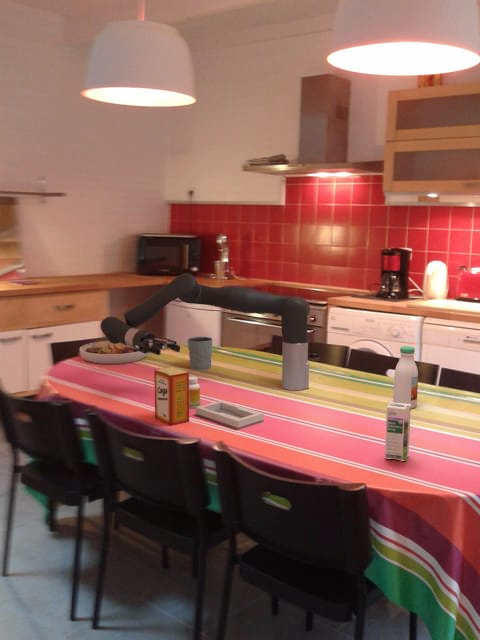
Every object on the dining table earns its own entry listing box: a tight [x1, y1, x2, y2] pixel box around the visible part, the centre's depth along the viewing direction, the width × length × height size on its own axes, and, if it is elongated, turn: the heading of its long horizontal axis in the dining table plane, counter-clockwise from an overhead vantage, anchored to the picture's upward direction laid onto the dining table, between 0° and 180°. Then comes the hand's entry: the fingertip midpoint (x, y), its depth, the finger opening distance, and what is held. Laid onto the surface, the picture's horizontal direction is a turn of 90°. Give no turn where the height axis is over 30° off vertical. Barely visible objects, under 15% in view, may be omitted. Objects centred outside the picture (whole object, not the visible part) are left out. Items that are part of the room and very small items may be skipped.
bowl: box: [79, 340, 149, 365], centre depth 294 cm, size 30×30×8 cm
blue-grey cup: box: [187, 336, 213, 371], centre depth 276 cm, size 10×10×12 cm
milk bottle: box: [392, 345, 419, 409], centre depth 223 cm, size 8×8×20 cm
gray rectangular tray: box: [195, 400, 264, 430], centre depth 211 cm, size 19×11×3 cm, turn 44°
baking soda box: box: [153, 366, 190, 427], centre depth 208 cm, size 10×6×16 cm
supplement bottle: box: [189, 376, 201, 409], centre depth 223 cm, size 5×5×10 cm
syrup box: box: [384, 401, 412, 462], centre depth 178 cm, size 6×6×14 cm
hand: (169, 350), depth 228 cm, fingers open, 8 cm apart
